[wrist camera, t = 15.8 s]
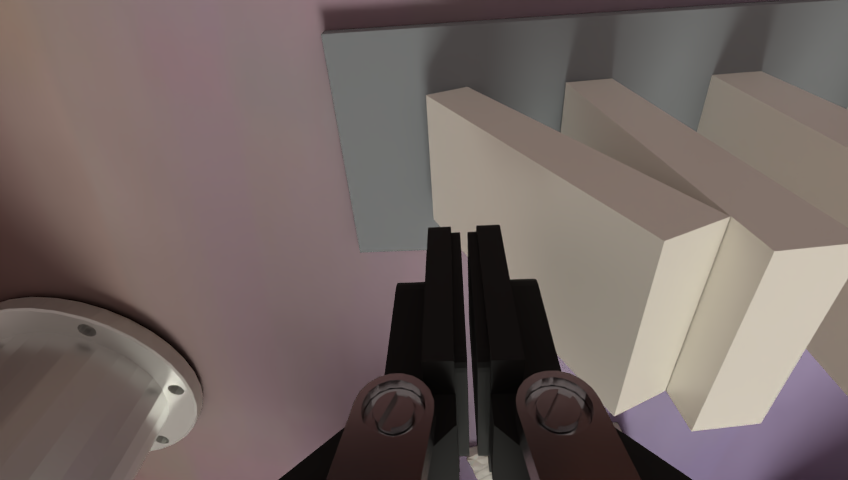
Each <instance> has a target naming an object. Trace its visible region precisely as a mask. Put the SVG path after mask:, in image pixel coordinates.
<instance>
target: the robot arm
mask: <svg viewBox="0 0 848 480" xmlns="http://www.w3.org/2000/svg"><path fill="white" fill-rule="evenodd" d="M467 239H468V287H469V325H470V341H471V357H472V373H473V388H474V404H475V420H476V435H477V451H478V456H488V464H489V472H492V480H692V479H691V478H689V477H688V476H686V475H685V474H683V473H682V472H680V471H679V470H677V469H676V468H674V467H673V466H671V465H670V464H668V463H667V462H665V461H664V460H662V459H661V458H659V457H658V456H656V455H655V454H654V453H652V452H651V451H649V450H648V449H646V448H645V447H643V446H642V445H640V444H639V443H637V442H636V441H634V440H633V439H631V438H630V437H628V436H627V435H625V434H624V433H622V432H621V431H620V430H618V429H617V428H615V427H614V425H613V423H612V421H611V419H610V417H609V415H608V413H607V411H606V409H605V408H604V406H603V404H602V402H601V400H600V398H599V397H598V395H597V394H596V392H595V391H594V389H593V388H592V387H591V386H589V385H588V384H587V383H586V382H585V381H583V380H582V379H580V378H578V377H576V376H574V375H572V374H570V373H565V372H561V369H560V365H559V361H558V357H557V353H556V350H555V346H554V342H553V338H552V334H551V330H550V327H549V323H548V319H547V315H546V311H545V308H544V304H543V300H542V296H541V292H540V289H539V285H538V282H537V280H536V279H510V277H509V271H508V266H507V261H506V255H505V250H504V244H503V239H502V234H501V228H500V225H477V226H476V232H467ZM202 404H203V394H202V388H201V385H200V383H199V381H198V378H197V376H196V374H195V372H194V371H193V370H192V368H191V367H190V366H189V364H188V363H187V362H186V360H185V359H184V358H183V357H182V356H181V355H180V354H179V353H178V352H177V351H176V350H175V349H174V348H173V347H172V346H171V345H170V344H168V343H167V342H166V341H164V340H163V339H162V338H160V337H159V336H157V335H156V334H155V333H153V332H152V331H150V330H148V329H147V328H145V327H143V326H141V325H139V324H138V323H136V322H134V321H132V320H130V319H128V318H126V317H123V316H121V315H118V314H116V313H114V312H111V311H109V310H106V309H103V308H100V307H96V306H93V305H89V304H86V303H82V302H77V301H71V300H66V299H60V298H45V297H26V298H17V299H9V300H6V301H3V302H0V480H134V478H135V477H136V475H137V473H138V471H139V469H140V467H141V466H142V464H143V462H144V460H145V458H146V457H147V455H148V453H149V451H153V450H158V449H162V448H165V447H167V446H170V445H172V444H175V443H177V442H178V441H180V440H181V439H183V438H184V437H185V436H187V434H188V433H189V432H190V431H191V430H192V428H193V427H194V425H195V423H196V421H197V419H198V417H199V414H200V412H201V410H202ZM459 456H469V419H468V381H467V352H466V333H465V314H464V295H463V277H462V258H461V239H460V232H454V233H451V227H428V237H427V256H426V275H425V282H415V283H398V284H397V286H396V292H395V300H394V308H393V315H392V323H391V331H390V338H389V346H388V354H387V361H386V369H385V375H384V376H380V377H378V378H376V379H374V380H372V381H371V382H369V383H368V384H367V385H366V386H365V387H364V388H363V389H362V390H361V391H360V392H359V394H358V395H357V397H356V399H355V401H354V403H353V406H352V409H351V411H350V414H349V417H348V420H347V423H346V425H345V427H344V428H343V429H342V430H341V431H339V432H338V433H337V434H336V435H334V436H333V437H332V438H331V439H329V440H328V441H327V442H326V443H324V444H323V445H322V446H320V447H319V448H318V449H317V450H315V451H314V452H313V453H312V454H310V455H309V456H308V457H307V458H305V459H304V460H303V461H302V462H300V463H299V464H298V465H296V466H295V467H294V468H293V469H291V470H290V471H289V472H288V473H286V474H285V475H284V476H283V477H281V478H280V479H279V480H459V472H460V469H459Z"/></svg>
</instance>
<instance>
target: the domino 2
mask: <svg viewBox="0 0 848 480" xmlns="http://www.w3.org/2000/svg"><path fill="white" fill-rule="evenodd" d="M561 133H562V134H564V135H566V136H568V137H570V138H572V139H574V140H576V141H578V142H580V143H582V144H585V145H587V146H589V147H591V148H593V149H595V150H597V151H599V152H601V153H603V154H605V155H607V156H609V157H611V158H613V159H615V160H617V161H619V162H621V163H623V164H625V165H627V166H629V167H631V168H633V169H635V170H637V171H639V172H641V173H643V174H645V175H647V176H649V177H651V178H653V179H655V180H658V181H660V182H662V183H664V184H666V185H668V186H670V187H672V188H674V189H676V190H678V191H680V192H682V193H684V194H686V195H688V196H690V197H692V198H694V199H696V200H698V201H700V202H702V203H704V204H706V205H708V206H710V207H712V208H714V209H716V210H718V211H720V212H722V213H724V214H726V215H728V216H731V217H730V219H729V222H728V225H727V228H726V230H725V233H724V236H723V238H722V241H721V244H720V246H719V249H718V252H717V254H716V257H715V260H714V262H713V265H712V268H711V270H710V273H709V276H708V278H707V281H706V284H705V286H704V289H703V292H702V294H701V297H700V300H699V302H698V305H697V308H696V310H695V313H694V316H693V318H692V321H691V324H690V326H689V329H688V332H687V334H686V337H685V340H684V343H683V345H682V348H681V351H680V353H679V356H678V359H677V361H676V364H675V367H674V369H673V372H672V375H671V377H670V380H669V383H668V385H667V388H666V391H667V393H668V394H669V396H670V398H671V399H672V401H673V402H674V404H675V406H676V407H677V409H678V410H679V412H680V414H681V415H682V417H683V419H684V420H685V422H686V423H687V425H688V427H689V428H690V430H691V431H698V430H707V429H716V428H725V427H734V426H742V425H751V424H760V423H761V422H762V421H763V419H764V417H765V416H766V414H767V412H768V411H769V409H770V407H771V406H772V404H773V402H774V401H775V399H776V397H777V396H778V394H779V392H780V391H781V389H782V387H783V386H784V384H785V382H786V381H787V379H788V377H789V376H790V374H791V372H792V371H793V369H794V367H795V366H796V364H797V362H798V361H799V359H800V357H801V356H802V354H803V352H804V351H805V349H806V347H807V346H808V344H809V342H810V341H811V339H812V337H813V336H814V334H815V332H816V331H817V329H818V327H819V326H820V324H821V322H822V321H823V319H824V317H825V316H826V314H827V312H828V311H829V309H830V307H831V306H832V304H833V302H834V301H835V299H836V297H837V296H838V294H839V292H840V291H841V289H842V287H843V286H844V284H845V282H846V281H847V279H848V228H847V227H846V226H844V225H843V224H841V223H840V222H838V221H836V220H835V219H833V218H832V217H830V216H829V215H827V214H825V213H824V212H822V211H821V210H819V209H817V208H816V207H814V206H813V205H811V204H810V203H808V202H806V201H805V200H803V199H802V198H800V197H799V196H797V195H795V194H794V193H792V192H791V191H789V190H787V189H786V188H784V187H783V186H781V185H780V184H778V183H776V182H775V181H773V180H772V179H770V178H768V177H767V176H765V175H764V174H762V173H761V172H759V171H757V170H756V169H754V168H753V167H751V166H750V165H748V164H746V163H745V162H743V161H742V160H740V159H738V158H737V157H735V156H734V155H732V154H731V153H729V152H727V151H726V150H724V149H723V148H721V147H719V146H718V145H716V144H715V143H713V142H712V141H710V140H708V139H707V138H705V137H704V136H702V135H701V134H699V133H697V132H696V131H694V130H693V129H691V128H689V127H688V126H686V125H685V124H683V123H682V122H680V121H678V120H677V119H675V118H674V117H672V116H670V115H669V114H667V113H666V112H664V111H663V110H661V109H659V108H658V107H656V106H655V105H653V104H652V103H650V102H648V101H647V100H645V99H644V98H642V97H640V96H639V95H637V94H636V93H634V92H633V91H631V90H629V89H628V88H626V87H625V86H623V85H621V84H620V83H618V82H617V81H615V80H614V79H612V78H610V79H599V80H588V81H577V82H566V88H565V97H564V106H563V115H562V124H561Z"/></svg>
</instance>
